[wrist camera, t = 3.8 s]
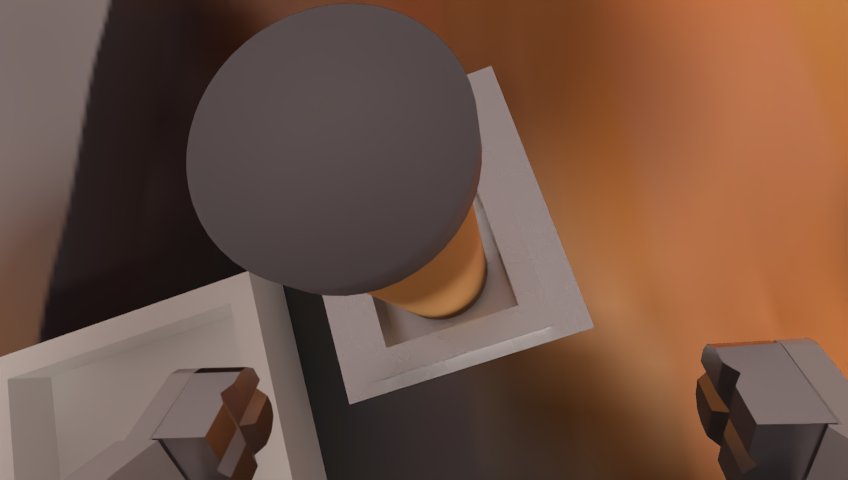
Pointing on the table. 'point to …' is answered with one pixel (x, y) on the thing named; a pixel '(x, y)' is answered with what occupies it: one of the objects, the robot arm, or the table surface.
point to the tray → (154, 379)
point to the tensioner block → (504, 291)
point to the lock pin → (345, 160)
